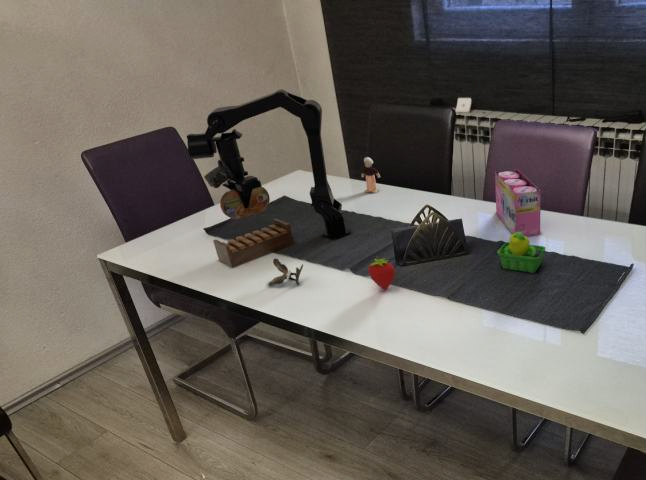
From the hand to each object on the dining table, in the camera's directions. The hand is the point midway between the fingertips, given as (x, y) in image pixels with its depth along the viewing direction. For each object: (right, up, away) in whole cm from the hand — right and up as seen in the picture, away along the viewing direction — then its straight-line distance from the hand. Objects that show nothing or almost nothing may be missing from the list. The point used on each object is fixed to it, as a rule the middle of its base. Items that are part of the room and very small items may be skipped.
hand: (244, 207), depth 181 cm
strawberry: (+46, -28, -26) cm, 60 cm away
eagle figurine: (+18, -25, -19) cm, 36 cm away
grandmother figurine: (+33, +15, +41) cm, 55 cm away
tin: (0, -2, +2) cm, 3 cm away
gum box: (+83, -4, +6) cm, 84 cm away
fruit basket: (+82, -21, -21) cm, 87 cm away
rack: (+4, -14, 0) cm, 14 cm away
